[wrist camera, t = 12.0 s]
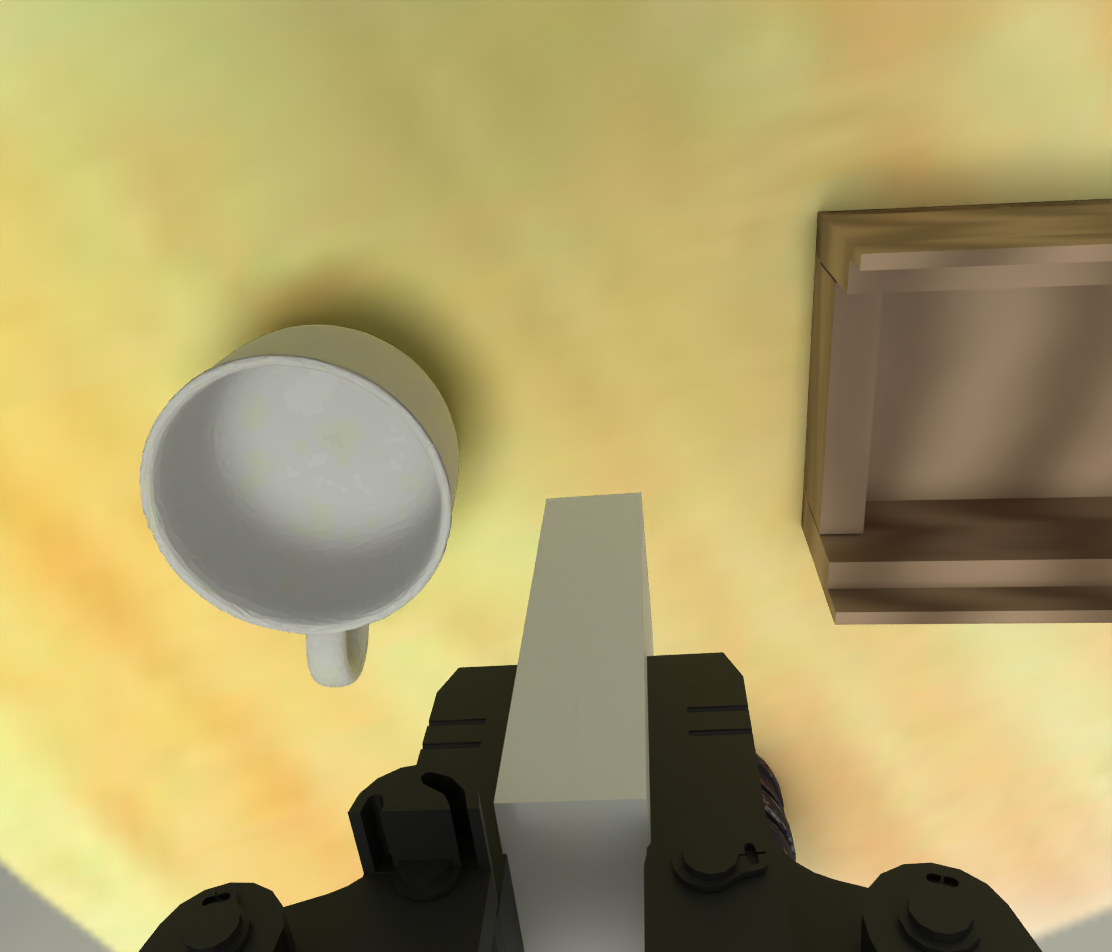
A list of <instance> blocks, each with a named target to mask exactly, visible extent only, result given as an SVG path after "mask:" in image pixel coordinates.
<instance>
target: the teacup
mask: <svg viewBox="0 0 1112 952" xmlns="http://www.w3.org/2000/svg"><path fill="white" fill-rule="evenodd" d="M458 471H459V449H458V441H457V435H456V431H455V427H454V423H453V420H452V418H451V415H450V412H449V409H448V407H447V405H446V403H445V401H444V399H443V397H442V395H441V394H440V392H439V390H438V389H437V387H436V386H435V384H434V383H433V382H432V380H431V379H430V378H429V377H428V375H427V374H426V373H425V372H424V371H423V370H422V369H421V368H420V367H419V366H418V365H417V364H416V363H415V362H414V361H413V360H412V359H411V358H410V357H408V356H407V355H406V354H404V353H403V352H401V351H400V350H399V349H397V348H396V347H394V346H393V345H391V344H389V343H387V342H385V341H383V340H381V339H379V338H377V337H375V336H373V335H370V334H368V333H365V332H362V331H358V330H355V329H352V328H347V327H341V326H334V325H321V324H315V325H301V326H294V327H288V328H284V329H281V330H277V331H274V332H271V333H268V334H266V335H263V336H261V337H259V338H257V339H254V340H252V341H250V342H249V343H247V344H245V345H244V346H242V347H240V348H239V349H237V350H235V351H234V352H233V353H231V354H230V355H228V356H227V357H226V358H224V359H223V360H222V361H220V362H219V363H217V364H216V365H215V366H214V367H213V368H211V369H208V370H206V371H204V372H203V373H201V374H200V375H198V376H197V377H195V378H193V379H192V380H191V381H190V382H189V383H187V384H186V385H185V386H184V387H183V388H182V389H181V390H180V391H179V392H178V393H177V394H176V395H175V396H173V398H172V399H171V400H170V401H169V402H168V404H167V405H166V407H165V408H164V409H163V411H162V412H161V413H160V414H159V416H158V417H157V419H156V421H155V423H154V425H153V427H152V428H151V431H150V433H149V436H148V438H147V441H146V444H145V447H144V450H143V456H142V463H141V467H140V487H141V499H142V506H143V512H144V514H145V516H146V518H147V523H148V528H149V529H150V530H151V532H152V533H153V536H154V539H155V541H156V542H157V544H158V547H159V549H160V552H161V553H162V554H163V555H164V557H165V559H166V560H167V562H168V563H169V564H170V566H171V567H172V569H173V570H174V571H175V572H176V574H177V575H178V576H179V577H180V578H181V579H182V580H183V581H184V582H185V583H186V584H187V585H189V586H190V587H191V588H192V589H193V590H194V591H195V592H196V593H198V594H199V595H200V596H201V597H202V598H204V599H205V600H207V601H208V602H210V603H211V604H212V605H214V606H215V607H217V608H218V609H220V610H222V611H224V612H227V613H228V614H230V615H232V616H234V617H235V618H238V619H241V620H243V621H246V622H248V623H251V624H254V625H258V626H261V627H265V628H270V629H274V630H279V631H285V632H292V633H298V634H306V649H307V661H308V667H309V670H310V673H311V676H312V677H313V679H314V680H315V681H316V682H317V683H318V684H320V685H322V686H326V687H343V686H347V685H349V684H352V683H353V682H355V681H356V680H357V679H358V677H359V675H360V674H361V672H362V670H363V666H364V662H365V658H366V653H367V646H368V631H369V624H370V623H373V622H375V621H378V620H380V619H383V618H385V617H387V616H389V615H390V614H392V613H393V612H395V611H397V610H398V609H400V608H401V607H403V606H404V605H405V604H407V603H408V602H409V601H410V600H411V599H412V598H414V597H415V596H416V595H417V594H418V593H419V592H420V591H421V590H422V589H423V587H424V586H425V585H426V584H427V582H428V581H429V580H430V578H431V577H432V575H433V574H434V572H435V570H436V569H437V567H438V565H439V563H440V561H441V559H442V557H443V555H444V552H445V549H446V545H447V540H448V537H449V534H450V528H451V521H452V509H453V504H454V499H455V494H456V488H457V481H458Z"/></svg>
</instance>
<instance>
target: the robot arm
mask: <svg viewBox="0 0 1112 952" xmlns="http://www.w3.org/2000/svg"><path fill="white" fill-rule="evenodd" d="M348 815H349V819H350V823H351V826H352V830H353V834H354V838H355V841H356V845H357V849H358V853H359V856H360V860H361V864H362V868H363V871H364V875H363V877H362V878H360V879H359V880H357V881H355V882H354V883H352V884H350V885H349V886H347V887H344V888H342V889H339V890H337V891H334V892H332V893H329V894H326V895H323V896H319V897H316V898H313V899H309V900H306V901H303V902H299V903H296V904H293V905H289V906H286V907H283V906H282V904H281V903H280V902H279V900H278V899H277V897H276V896H275V894H274V893H273V891H271V890H269V889H267V888H264V887H262V886H260V885H257V884H255V883H227V884H224V885H221V886H217V887H214V888H210V889H207V890H204V891H202V892H201V893H199V894H197V895H196V896H194V897H192V898H191V899H189V900H187V901H185V902H184V903H182V904H180V905H179V906H178V907H177V908H176V909H175V910H174V911H173V912H172V913H171V914H170V915H169V916H168V917H167V918H166V919H165V920H164V921H163V922H162V923H161V924H160V925H159V926H158V928H157V929H156V930H155V931H154V933H153V934H152V935H151V937H150V938H149V939H148V940H147V942H146V943H145V944H144V946H143V947H142V948H141V949H140V951H139V952H1042V951H1041V949H1040V948H1039V947H1038V945H1037V944H1036V942H1035V941H1034V940H1033V938H1032V937H1031V936H1030V934H1029V933H1028V931H1027V930H1026V929H1025V927H1024V926H1023V925H1022V923H1021V922H1020V920H1019V919H1018V918H1017V916H1016V915H1015V914H1014V912H1013V911H1012V909H1011V908H1010V907H1009V905H1008V904H1007V903H1006V902H1005V901H1004V900H1003V899H1002V898H1001V897H1000V896H999V895H998V894H997V893H996V892H995V891H994V890H993V889H992V888H991V887H990V886H989V885H988V884H986V883H984V882H982V881H981V880H979V879H977V878H975V877H973V876H971V875H969V874H968V873H966V872H964V871H962V870H960V869H956V868H951V867H947V866H943V865H939V864H934V863H918V864H903V865H901V866H898V867H896V868H894V869H891V870H889V871H887V872H884V873H882V874H880V876H879V877H878V878H877V879H876V880H875V881H874V882H873V884H872V885H871V886H870V887H869V888H866V887H862V886H858V885H854V884H850V883H846V882H842V881H838V880H834V879H831V878H828V877H825V876H823V875H820V874H817V873H814V872H812V871H810V870H809V869H807V868H805V867H804V866H802V865H800V864H798V863H797V862H795V861H794V860H793V859H792V858H791V857H790V856H788V855H787V854H786V853H785V852H784V851H783V850H782V849H781V848H780V846H779V845H778V843H777V842H776V841H775V839H774V838H773V836H772V834H771V831H770V828H769V825H768V822H767V819H766V813H765V806H764V800H763V794H762V788H761V782H760V776H759V770H758V764H757V758H756V752H755V746H754V740H753V734H752V727H751V721H750V715H749V710H748V703H747V697H746V691H745V685H744V679H743V676H742V674H741V673H740V672H739V671H738V670H737V668H736V667H735V666H734V665H733V664H732V663H731V661H730V660H729V659H728V658H727V657H726V655H725V654H724V653H723V652H722V653H701V654H681V655H660V656H653V632H652V620H651V608H650V595H649V583H648V571H647V559H646V546H645V534H644V522H643V510H642V497H641V492H640V493H625V494H610V495H595V496H580V497H565V498H550V499H546V505H545V510H544V516H543V522H542V528H541V533H540V539H539V545H538V551H537V556H536V562H535V568H534V574H533V579H532V585H531V591H530V597H529V603H528V608H527V614H526V620H525V626H524V631H523V637H522V643H521V649H520V654H519V660H518V665H505V666H484V667H463V668H458V669H457V670H456V672H455V673H454V674H453V675H452V676H451V677H450V678H449V680H448V681H447V682H446V683H445V684H444V685H443V686H442V688H441V689H440V690H439V691H438V692H437V694H436V698H435V701H434V705H433V708H432V712H431V715H430V719H429V726H427V729H426V733H425V736H424V740H423V749H421V751H420V754H419V758H418V761H417V765H414V766H408V767H403V768H399V769H397V770H395V771H393V772H391V773H388V774H386V775H384V776H382V777H380V778H378V779H376V780H375V781H374V782H373V783H372V784H370V785H369V786H368V787H367V788H366V789H365V790H363V791H362V792H361V793H360V794H359V795H358V797H357V798H356V800H355V802H354V803H353V805H352V807H351V808H350V810H349V812H348Z"/></svg>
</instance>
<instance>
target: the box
mask: <svg viewBox="0 0 1112 952" xmlns="http://www.w3.org/2000/svg"><path fill="white" fill-rule="evenodd" d="M802 529H803V532H804V535H805V538H806V541H807V544H808V547H809V550H810V552H811V555H812V558H813V561H814V564H815V567H816V570H817V573H818V576H819V579H820V582H821V585H822V588H823V591H824V594H825V597H826V600H827V603H828V606H829V609H830V611H831V614H832V617H833V620H834V623H835V625H840V624H981V623H1112V199H1097V200H1075V201H1052V202H1030V203H1007V204H985V205H962V206H939V207H917V208H894V209H872V210H849V211H827V212H818V219H817V239H816V258H815V277H814V296H813V315H812V334H811V353H810V373H809V392H808V411H807V430H806V449H805V468H804V487H803V507H802Z"/></svg>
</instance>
